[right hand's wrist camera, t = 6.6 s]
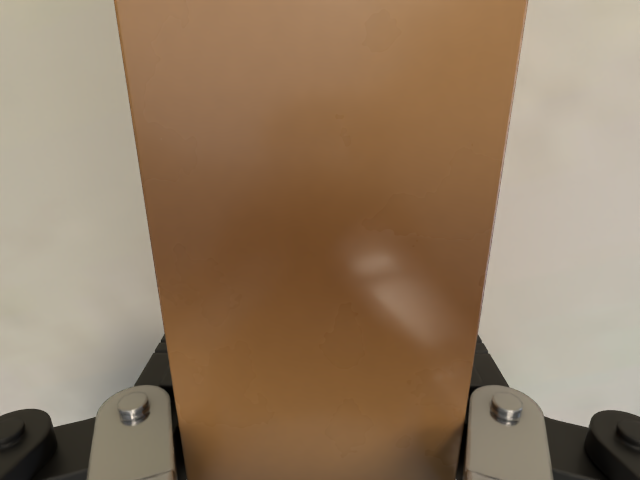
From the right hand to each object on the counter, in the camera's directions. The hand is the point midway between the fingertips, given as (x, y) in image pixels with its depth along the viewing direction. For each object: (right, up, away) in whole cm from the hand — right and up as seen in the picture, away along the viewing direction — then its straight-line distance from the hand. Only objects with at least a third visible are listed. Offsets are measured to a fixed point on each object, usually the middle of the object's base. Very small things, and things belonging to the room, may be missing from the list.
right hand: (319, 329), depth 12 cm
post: (0, +27, -7) cm, 28 cm away
